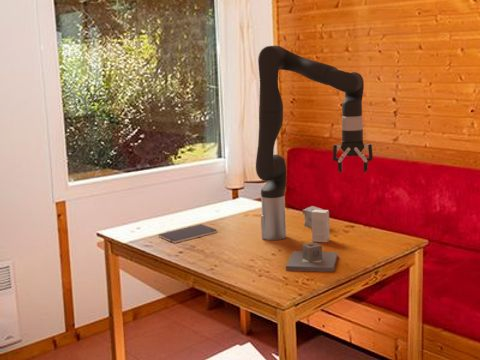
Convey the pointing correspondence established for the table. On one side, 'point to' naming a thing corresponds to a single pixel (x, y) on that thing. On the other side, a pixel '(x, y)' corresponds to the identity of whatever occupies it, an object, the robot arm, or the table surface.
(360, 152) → the robot arm
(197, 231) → the notebook
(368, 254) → the table surface
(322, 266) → the plate
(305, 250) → the dice cube
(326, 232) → the skincare box
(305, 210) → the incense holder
